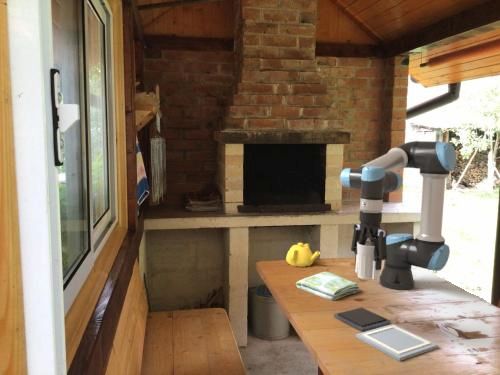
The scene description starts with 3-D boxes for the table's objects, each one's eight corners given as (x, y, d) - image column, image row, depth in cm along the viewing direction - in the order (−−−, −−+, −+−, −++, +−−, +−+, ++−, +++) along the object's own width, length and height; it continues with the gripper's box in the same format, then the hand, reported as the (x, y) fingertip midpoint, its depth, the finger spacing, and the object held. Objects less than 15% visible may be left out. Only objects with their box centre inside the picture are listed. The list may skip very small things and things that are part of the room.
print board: (355, 337, 147) (355, 333, 147) (393, 326, 156) (393, 322, 156) (399, 361, 132) (399, 356, 132) (438, 347, 141) (438, 343, 141)
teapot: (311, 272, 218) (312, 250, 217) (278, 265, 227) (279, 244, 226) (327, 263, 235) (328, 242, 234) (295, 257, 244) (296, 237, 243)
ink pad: (333, 317, 163) (334, 313, 163) (361, 310, 170) (361, 306, 170) (361, 331, 151) (362, 327, 151) (390, 323, 159) (390, 319, 158)
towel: (333, 302, 179) (334, 290, 178) (294, 288, 195) (295, 276, 194) (360, 293, 191) (361, 281, 190) (322, 280, 207) (322, 269, 206)
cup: (379, 275, 160) (381, 242, 158) (377, 281, 152) (379, 247, 151) (356, 272, 162) (358, 240, 161) (353, 278, 155) (355, 244, 153)
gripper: (342, 207, 161) (339, 268, 164) (385, 216, 144) (381, 285, 147) (358, 206, 165) (354, 266, 168) (401, 215, 148) (397, 282, 150)
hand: (367, 275), depth 157 cm, fingers closed on cup, 7 cm apart
